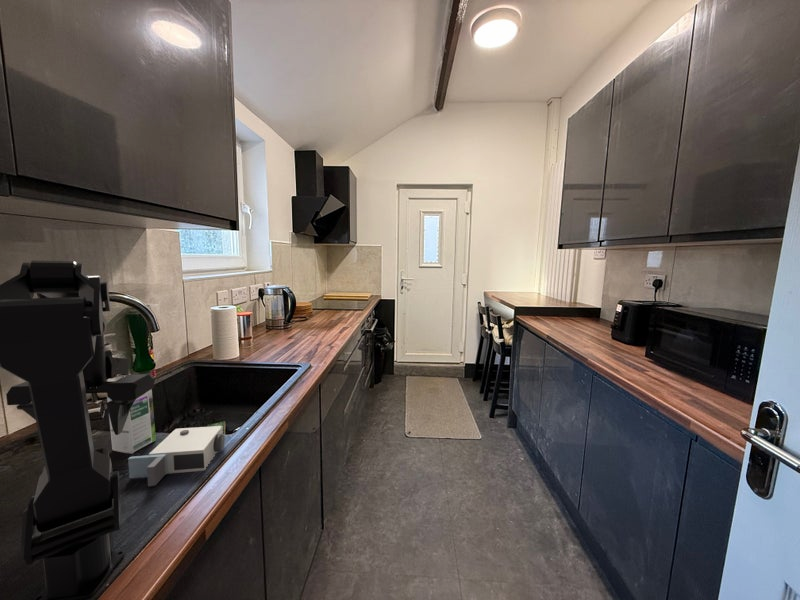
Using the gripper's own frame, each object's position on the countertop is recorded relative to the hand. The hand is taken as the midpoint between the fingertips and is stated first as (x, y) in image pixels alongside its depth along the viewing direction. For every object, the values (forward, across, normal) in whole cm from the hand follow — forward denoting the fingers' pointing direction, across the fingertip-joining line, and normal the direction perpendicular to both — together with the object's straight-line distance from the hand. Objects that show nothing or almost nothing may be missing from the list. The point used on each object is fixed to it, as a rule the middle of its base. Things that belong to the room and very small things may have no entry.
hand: (89, 435), depth 55 cm
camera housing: (+12, -11, -11) cm, 19 cm away
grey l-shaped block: (+12, -6, -3) cm, 13 cm away
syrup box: (+12, +4, -18) cm, 22 cm away
